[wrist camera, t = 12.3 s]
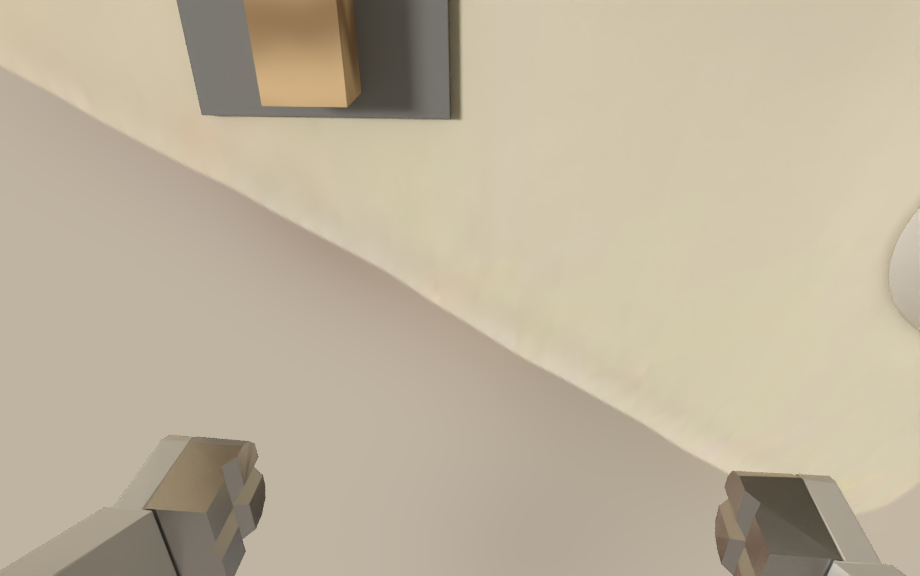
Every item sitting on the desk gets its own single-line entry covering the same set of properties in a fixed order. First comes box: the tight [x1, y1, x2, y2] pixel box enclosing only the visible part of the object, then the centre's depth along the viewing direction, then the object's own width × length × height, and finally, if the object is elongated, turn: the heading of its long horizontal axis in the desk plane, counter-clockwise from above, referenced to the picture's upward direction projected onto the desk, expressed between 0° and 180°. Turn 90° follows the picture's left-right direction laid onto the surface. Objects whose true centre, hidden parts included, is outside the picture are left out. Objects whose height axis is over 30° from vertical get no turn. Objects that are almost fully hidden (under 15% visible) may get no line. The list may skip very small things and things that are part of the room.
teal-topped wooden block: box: [243, 0, 361, 107], centre depth 34 cm, size 9×5×4 cm, turn 1°
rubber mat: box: [177, 0, 451, 119], centre depth 36 cm, size 16×12×1 cm
